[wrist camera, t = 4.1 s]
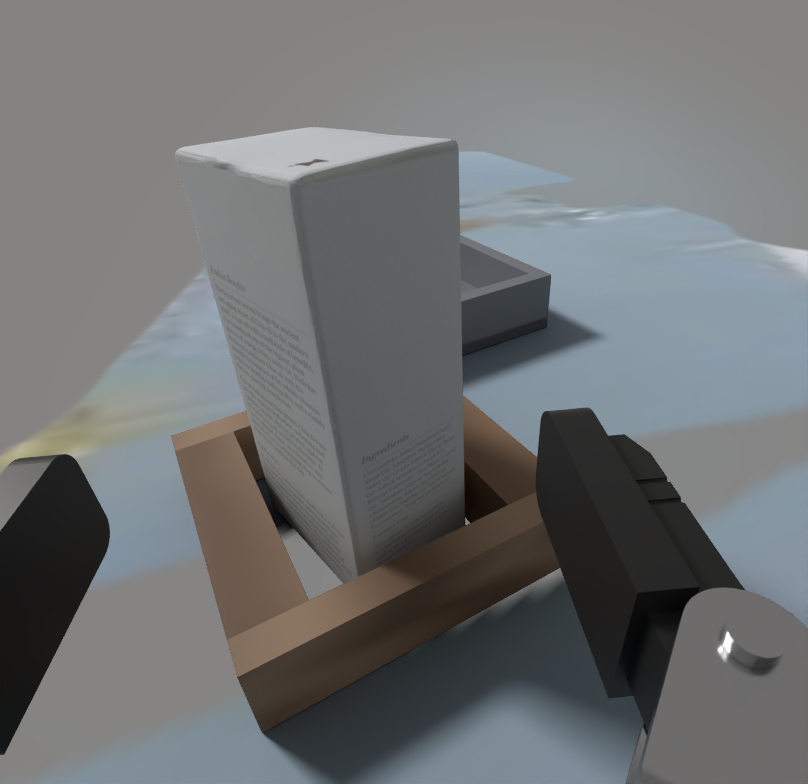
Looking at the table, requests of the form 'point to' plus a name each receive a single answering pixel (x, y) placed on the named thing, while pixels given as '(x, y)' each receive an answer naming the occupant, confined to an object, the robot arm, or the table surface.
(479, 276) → the tray
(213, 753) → the table surface
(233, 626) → the socket block
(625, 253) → the table surface
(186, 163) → the skincare box
